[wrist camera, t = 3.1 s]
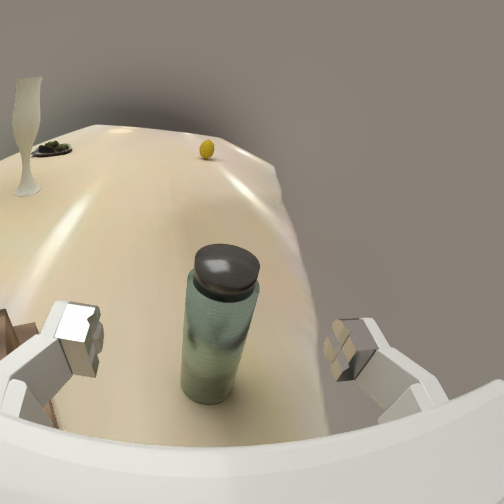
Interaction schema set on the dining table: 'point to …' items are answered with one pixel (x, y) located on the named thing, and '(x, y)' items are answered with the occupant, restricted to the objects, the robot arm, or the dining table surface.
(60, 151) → the salad plate
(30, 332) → the u rest
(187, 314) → the flask
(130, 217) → the dining table surface
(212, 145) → the lemon
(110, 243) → the dining table surface
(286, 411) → the dining table surface
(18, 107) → the vase
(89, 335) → the robot arm
